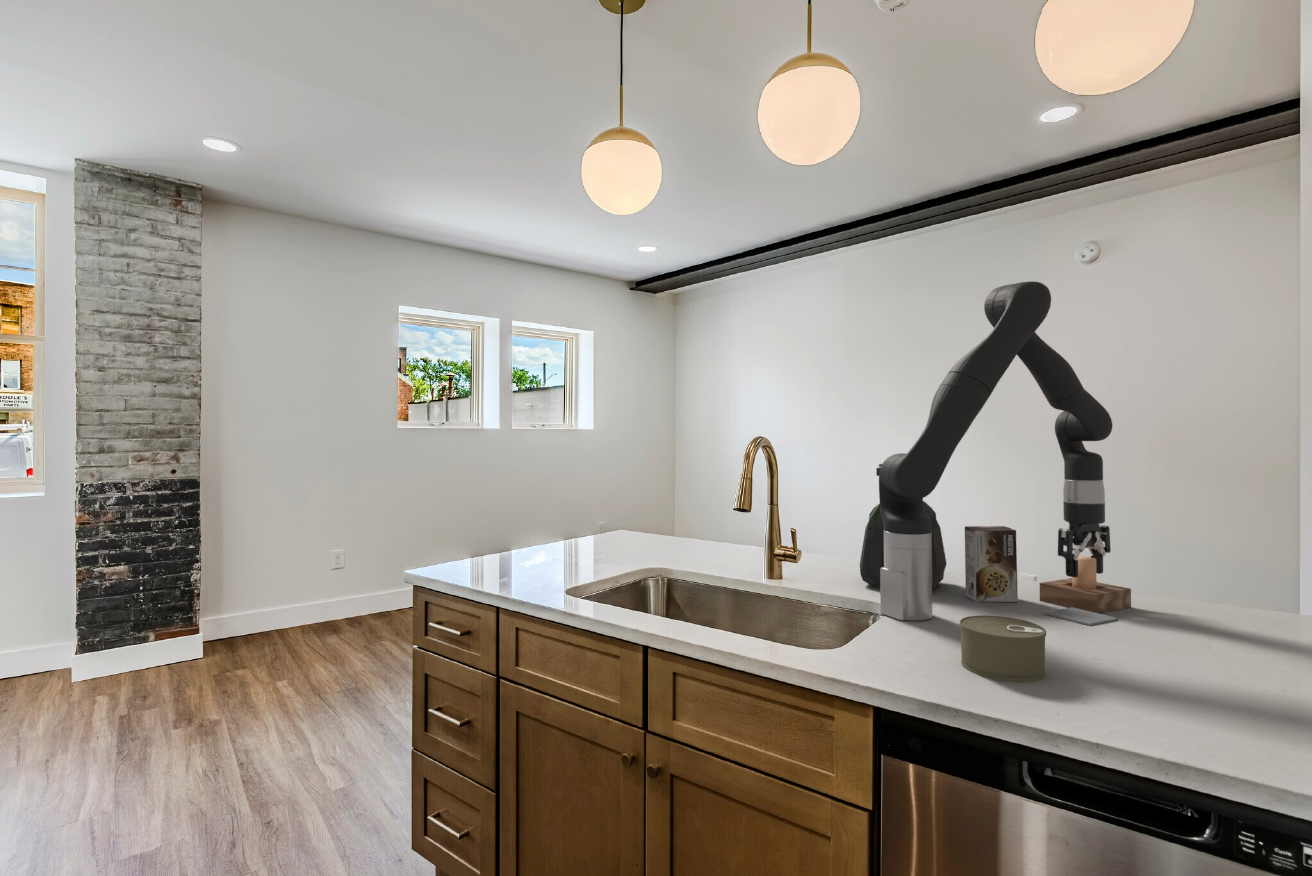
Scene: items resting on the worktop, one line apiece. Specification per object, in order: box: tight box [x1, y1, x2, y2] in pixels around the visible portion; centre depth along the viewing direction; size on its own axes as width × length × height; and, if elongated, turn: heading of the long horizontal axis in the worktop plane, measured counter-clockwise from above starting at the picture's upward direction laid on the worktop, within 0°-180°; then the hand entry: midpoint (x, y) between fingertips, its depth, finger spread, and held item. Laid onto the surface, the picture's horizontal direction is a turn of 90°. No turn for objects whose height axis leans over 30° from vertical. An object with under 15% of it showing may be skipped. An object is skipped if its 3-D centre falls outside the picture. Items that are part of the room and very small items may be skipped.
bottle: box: [859, 463, 948, 590], centre depth 158 cm, size 18×16×30 cm
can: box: [959, 614, 1047, 683], centre depth 100 cm, size 12×12×7 cm
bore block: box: [1039, 577, 1132, 614], centre depth 139 cm, size 12×12×4 cm
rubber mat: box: [1043, 607, 1118, 627], centre depth 129 cm, size 9×9×1 cm
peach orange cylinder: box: [1071, 556, 1097, 590], centre depth 139 cm, size 4×4×10 cm
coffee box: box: [964, 525, 1019, 603], centre depth 144 cm, size 9×6×16 cm
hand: (1084, 574), depth 139 cm, fingers open, 8 cm apart
